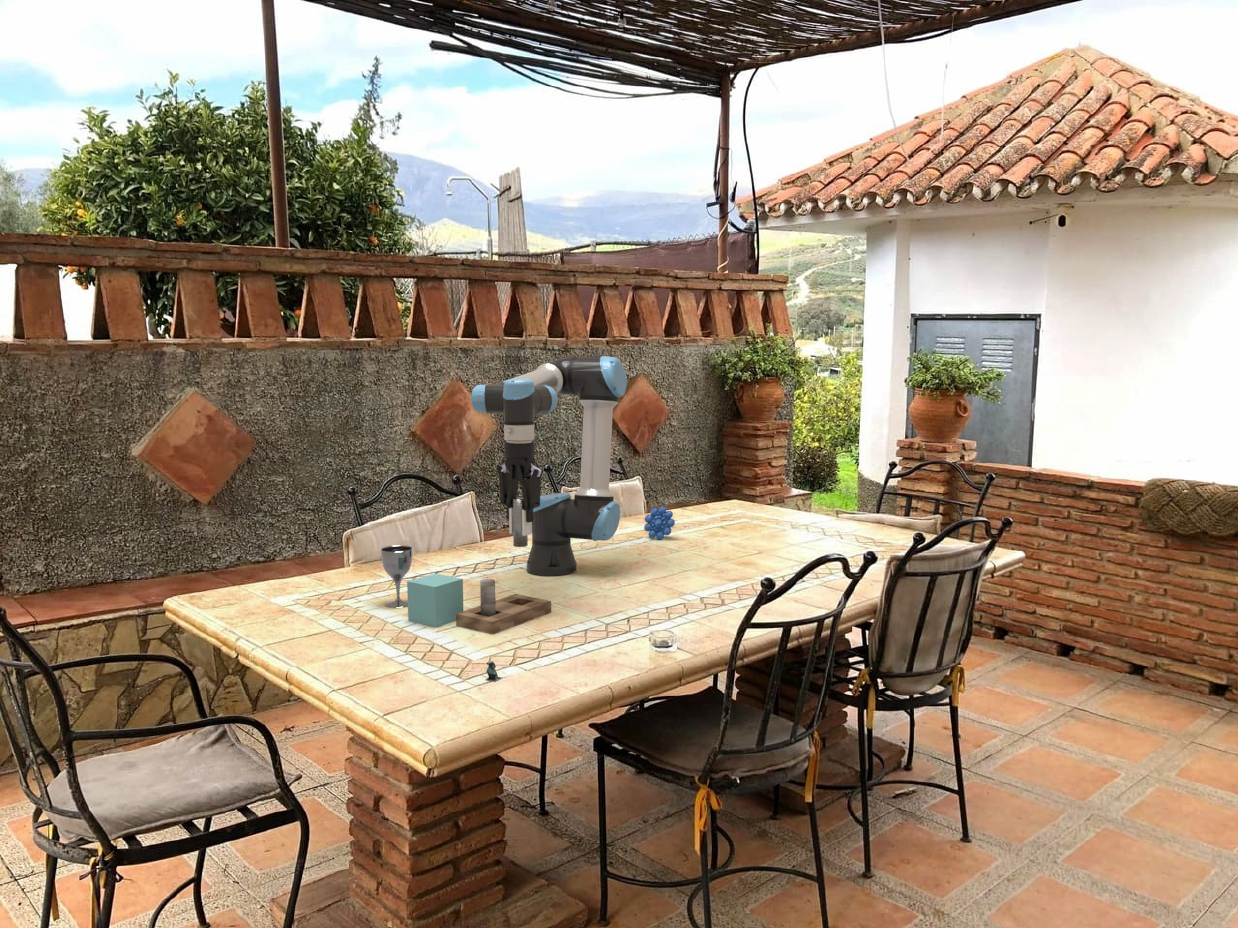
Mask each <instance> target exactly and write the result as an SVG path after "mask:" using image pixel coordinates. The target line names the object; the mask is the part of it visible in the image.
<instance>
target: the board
mask: <svg viewBox="0 0 1238 928" xmlns="http://www.w3.org/2000/svg"><path fill="white" fill-rule="evenodd" d="M479 584H480V585H479V586H480V587H479V589H480V593H479V595H480V605H478V606H475V607H472V608H468V609H465V610H464V611H462V612H459V613H456V621H455V625H456V626H457V627H461V628H465V629H469V630H474V631H478V632H483V633H486V634H491V635H494V634H497V633H500V632H503V631H505V630H507V629H511V628H513V627H516V626H518V625H521V624H524V623H527V622H529V621H532V620H535V619H538V618H540V617H543V616H545V615H548V614H550V613H552V601H551V600H548V599H544V598H540V597H539V598H538V597H533V596H528V595H523V594H519V593H513V594H511V595H508V596H505V597H502V598H499V599H496V580H495V579H492V578H485V579H481V580H480V581H479Z"/></svg>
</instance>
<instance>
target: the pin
mask: <svg viewBox="0 0 1238 928" xmlns="http://www.w3.org/2000/svg"><path fill="white" fill-rule="evenodd" d="M523 508H525V507H524V501H523V496H522V497H518V496H517V498H513V534H512V535H513V536H512V539H513V540H512V541H513V542H512V545H513V547H517V548H523V547H524V548H525V547H528V546H529V545H528V544H529V543H528V541H529V538H528V536H529V535H526V536H522V510H523Z"/></svg>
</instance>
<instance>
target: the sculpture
mask: <svg viewBox="0 0 1238 928" xmlns="http://www.w3.org/2000/svg"><path fill="white" fill-rule="evenodd" d="M486 665H487V666H488V667H487V668H486V672H487V676H488V677H487V678H485V681H488V682H493V683H497V682H498V681H501V680H502V679H503V677H500V676H498V673H497V671H496V670H497V669H495V668H497V666H496V664H495V662H494V661H493V660H492V661H489V662H486Z"/></svg>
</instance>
